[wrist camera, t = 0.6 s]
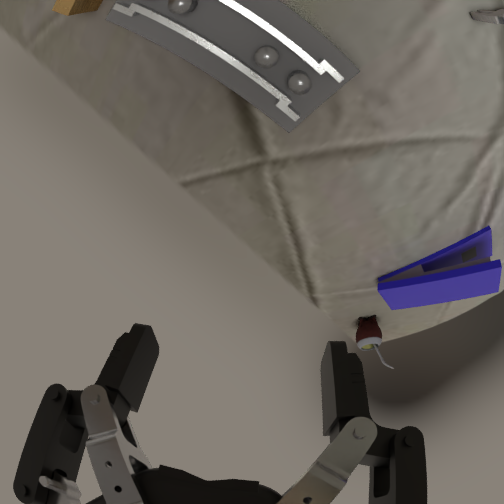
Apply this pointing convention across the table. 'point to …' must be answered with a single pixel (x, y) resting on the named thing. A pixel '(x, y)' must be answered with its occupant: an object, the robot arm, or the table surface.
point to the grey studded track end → (269, 58)
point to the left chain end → (178, 3)
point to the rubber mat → (247, 50)
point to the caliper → (489, 16)
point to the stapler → (445, 275)
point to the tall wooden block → (76, 6)
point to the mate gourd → (369, 335)
